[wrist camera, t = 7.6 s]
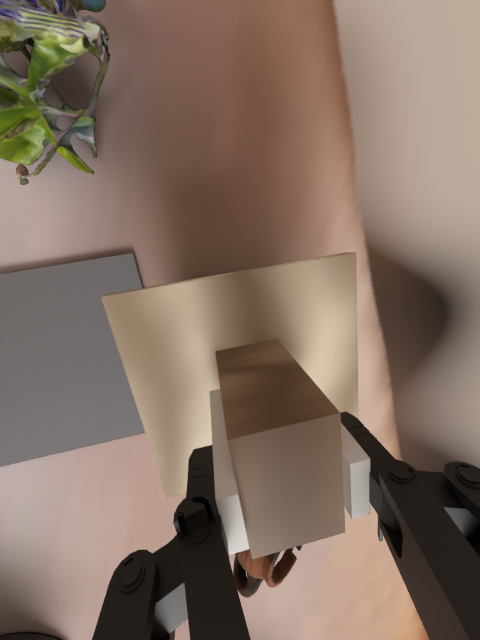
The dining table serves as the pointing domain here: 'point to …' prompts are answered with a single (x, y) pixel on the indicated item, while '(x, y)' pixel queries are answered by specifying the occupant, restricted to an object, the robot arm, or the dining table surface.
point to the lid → (251, 385)
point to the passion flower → (46, 78)
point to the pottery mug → (261, 570)
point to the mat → (63, 359)
